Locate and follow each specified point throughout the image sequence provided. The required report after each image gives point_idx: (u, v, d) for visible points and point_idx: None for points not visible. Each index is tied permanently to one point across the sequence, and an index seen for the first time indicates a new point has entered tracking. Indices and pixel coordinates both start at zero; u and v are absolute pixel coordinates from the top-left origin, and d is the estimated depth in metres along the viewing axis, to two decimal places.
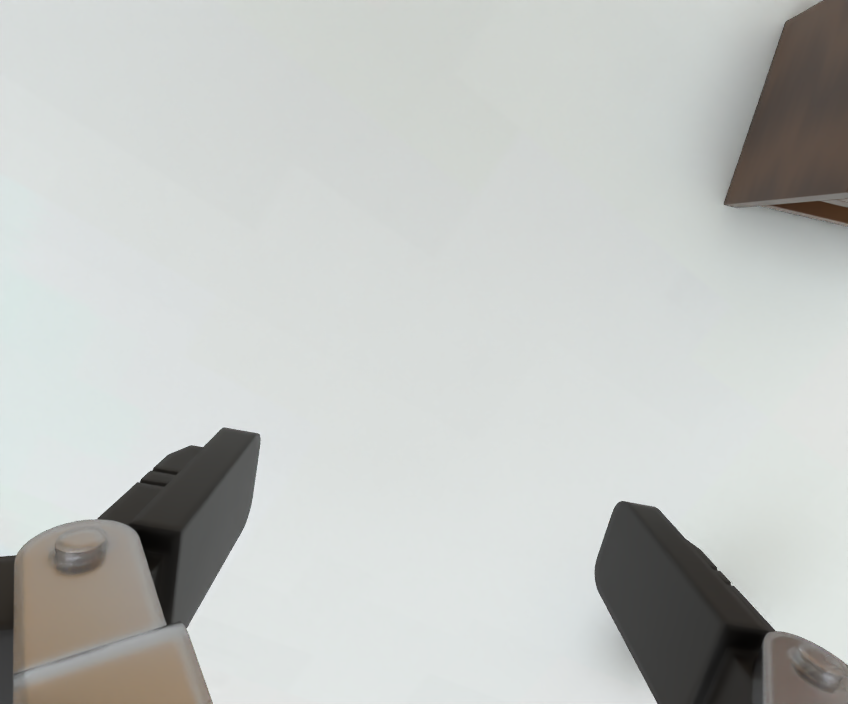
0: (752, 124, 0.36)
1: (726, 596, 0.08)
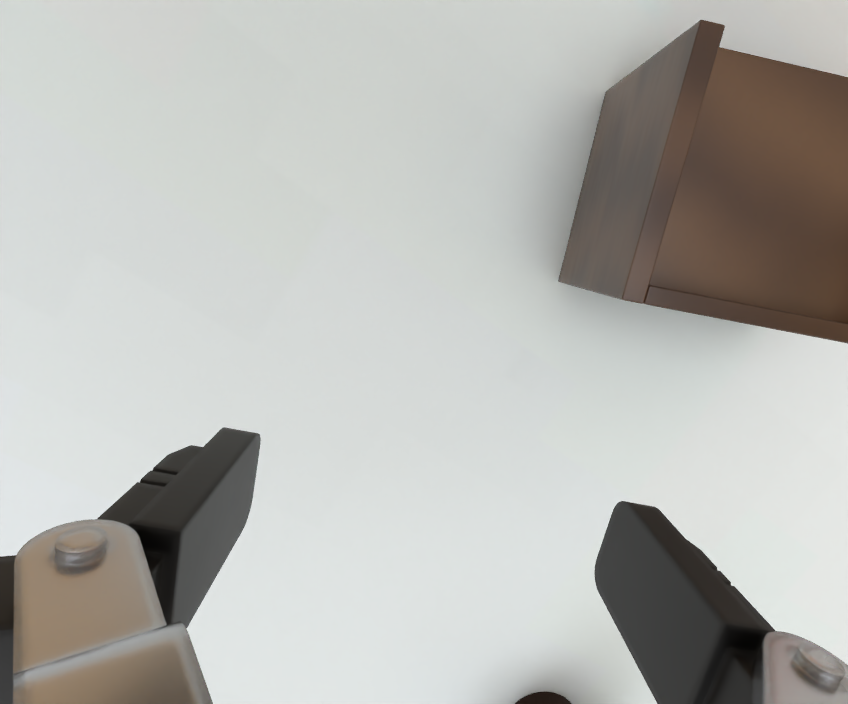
0: (579, 198, 0.34)
1: (726, 596, 0.08)
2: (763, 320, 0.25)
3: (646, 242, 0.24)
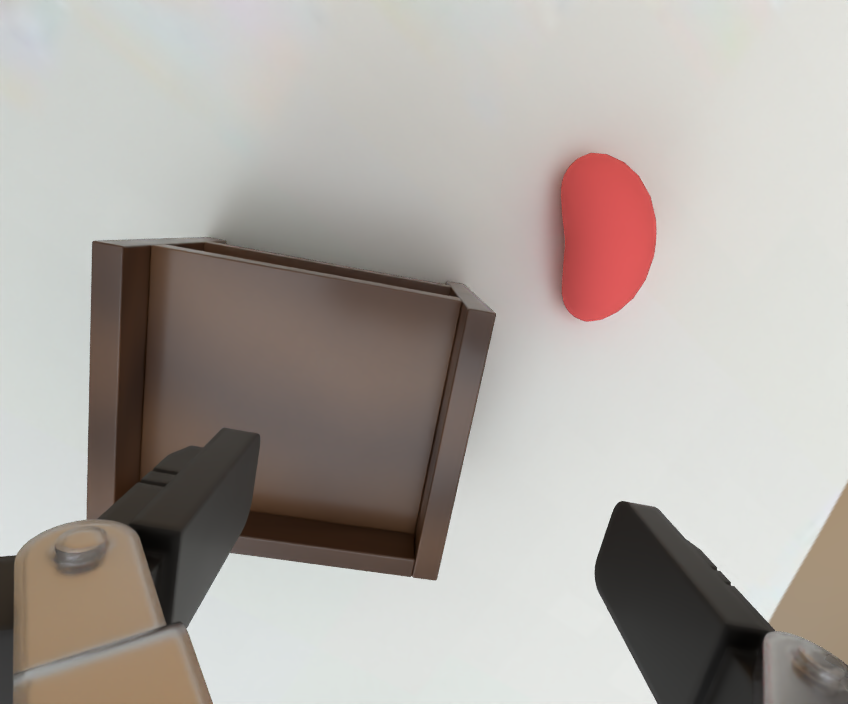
0: None
1: (726, 596, 0.08)
2: (259, 551, 0.22)
3: (96, 475, 0.21)
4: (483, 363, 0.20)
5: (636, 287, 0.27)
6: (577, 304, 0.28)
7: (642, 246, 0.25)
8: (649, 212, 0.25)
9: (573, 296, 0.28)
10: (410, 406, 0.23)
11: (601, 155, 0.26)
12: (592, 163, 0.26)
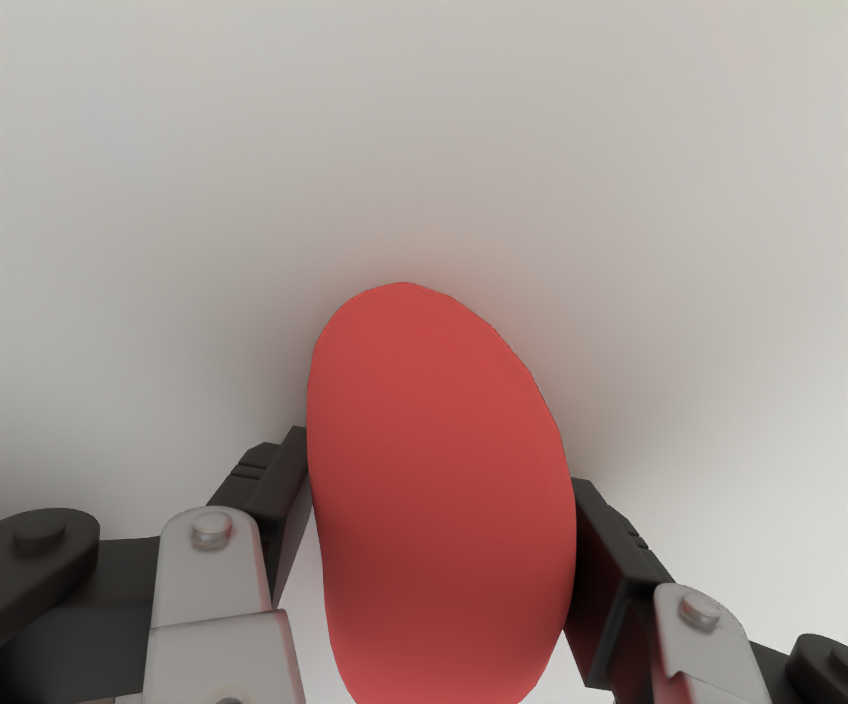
0: None
1: (633, 554, 0.08)
2: None
3: None
4: None
5: None
6: None
7: (513, 636, 0.07)
8: (543, 516, 0.07)
9: None
10: None
11: (405, 302, 0.08)
12: (365, 335, 0.08)
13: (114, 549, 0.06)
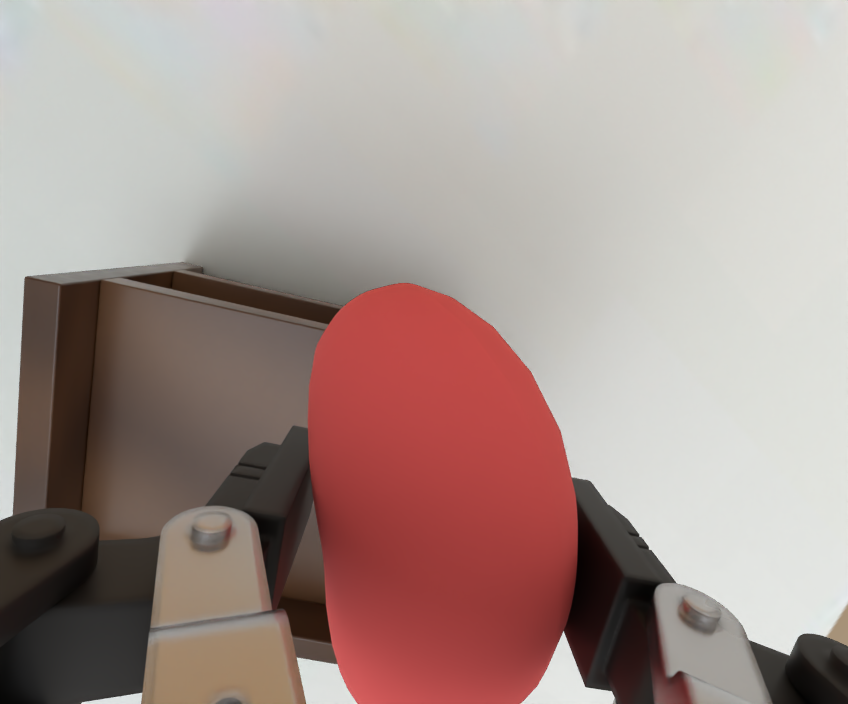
0: None
1: (633, 555, 0.08)
2: None
3: None
4: None
5: None
6: None
7: (515, 636, 0.07)
8: (545, 516, 0.07)
9: (346, 683, 0.10)
10: None
11: (406, 303, 0.08)
12: (367, 336, 0.08)
13: (114, 548, 0.06)
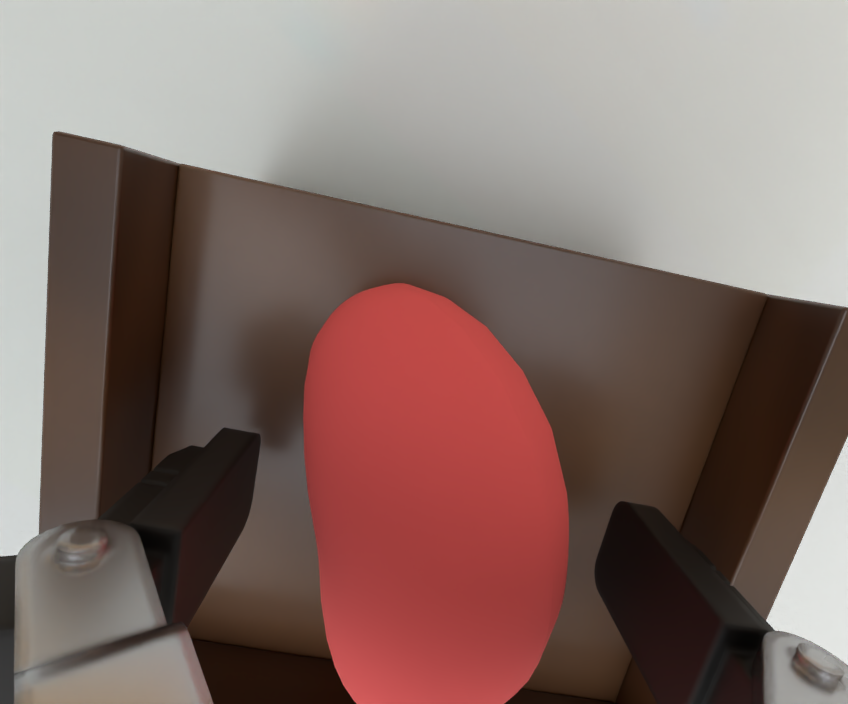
0: None
1: (725, 596, 0.08)
2: None
3: None
4: None
5: (503, 703, 0.09)
6: None
7: (505, 631, 0.07)
8: (535, 513, 0.08)
9: None
10: (641, 487, 0.12)
11: (400, 303, 0.08)
12: (361, 334, 0.08)
13: None
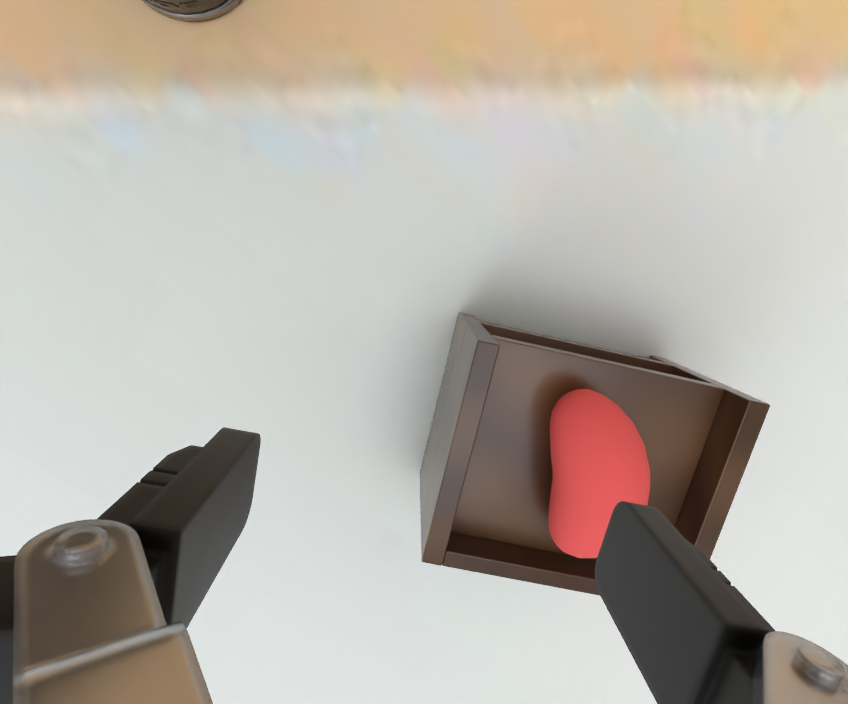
0: None
1: (726, 596, 0.08)
2: (554, 582, 0.27)
3: (440, 516, 0.26)
4: (754, 442, 0.26)
5: None
6: (563, 545, 0.26)
7: None
8: (642, 470, 0.24)
9: (559, 537, 0.26)
10: (671, 469, 0.28)
11: (593, 399, 0.24)
12: (583, 411, 0.24)
13: None
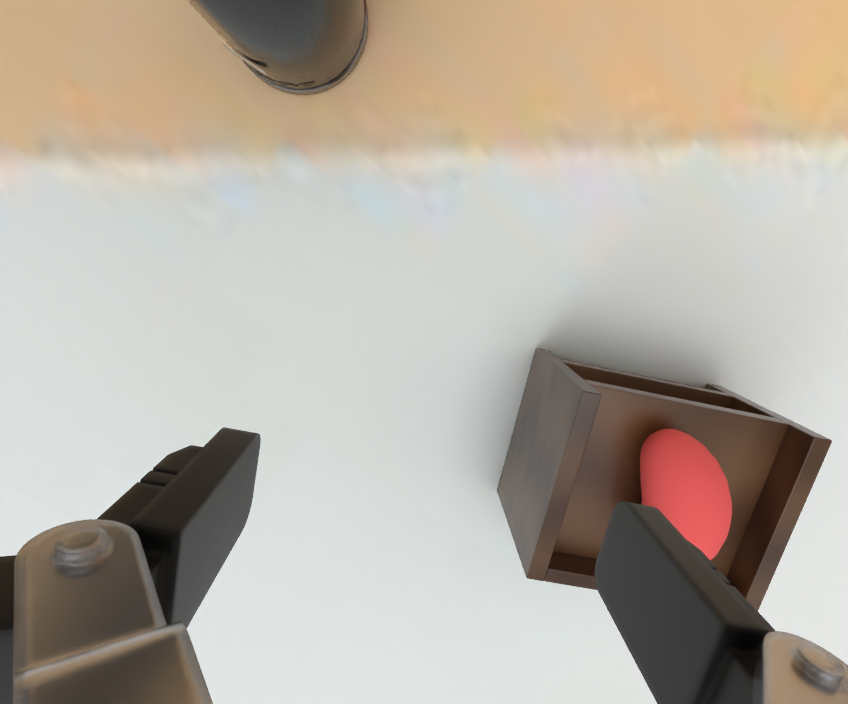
0: (514, 429, 0.40)
1: (726, 596, 0.08)
2: None
3: (544, 539, 0.30)
4: (817, 472, 0.30)
5: None
6: None
7: (720, 533, 0.27)
8: (728, 501, 0.28)
9: None
10: (740, 493, 0.32)
11: (682, 440, 0.28)
12: (675, 451, 0.28)
13: None
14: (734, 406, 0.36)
